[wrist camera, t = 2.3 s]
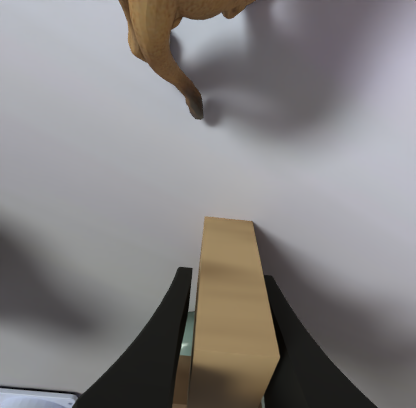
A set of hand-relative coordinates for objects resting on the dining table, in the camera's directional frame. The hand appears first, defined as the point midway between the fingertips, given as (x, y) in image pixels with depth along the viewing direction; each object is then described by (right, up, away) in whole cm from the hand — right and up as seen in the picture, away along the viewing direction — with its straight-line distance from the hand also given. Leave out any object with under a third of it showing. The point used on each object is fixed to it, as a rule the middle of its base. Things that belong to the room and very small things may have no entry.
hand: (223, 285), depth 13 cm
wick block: (0, +1, +2) cm, 2 cm away
